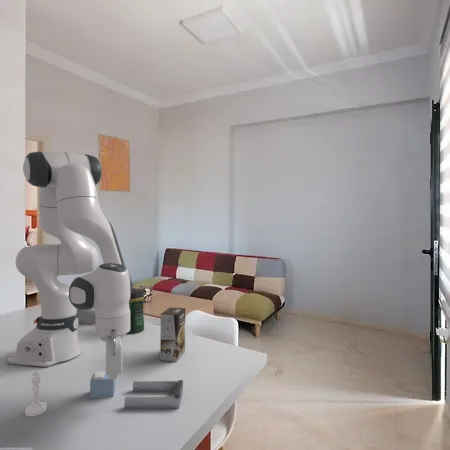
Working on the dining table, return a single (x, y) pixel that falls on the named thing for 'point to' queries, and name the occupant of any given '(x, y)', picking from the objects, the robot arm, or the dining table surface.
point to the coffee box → (172, 334)
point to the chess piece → (36, 399)
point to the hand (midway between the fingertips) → (113, 377)
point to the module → (102, 385)
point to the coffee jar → (136, 311)
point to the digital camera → (86, 316)
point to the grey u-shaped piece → (155, 401)
